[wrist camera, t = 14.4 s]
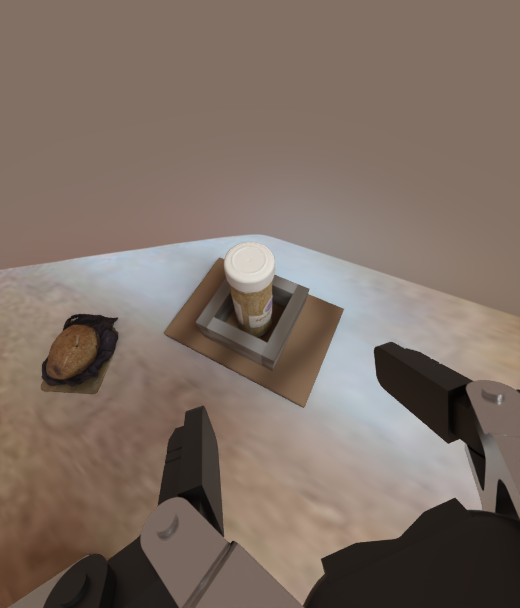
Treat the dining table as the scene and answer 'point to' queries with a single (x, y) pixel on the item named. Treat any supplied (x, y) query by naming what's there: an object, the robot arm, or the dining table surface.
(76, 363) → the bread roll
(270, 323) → the sprinkles bottle
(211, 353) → the collar board
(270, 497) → the dining table surface
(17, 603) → the supplement box
